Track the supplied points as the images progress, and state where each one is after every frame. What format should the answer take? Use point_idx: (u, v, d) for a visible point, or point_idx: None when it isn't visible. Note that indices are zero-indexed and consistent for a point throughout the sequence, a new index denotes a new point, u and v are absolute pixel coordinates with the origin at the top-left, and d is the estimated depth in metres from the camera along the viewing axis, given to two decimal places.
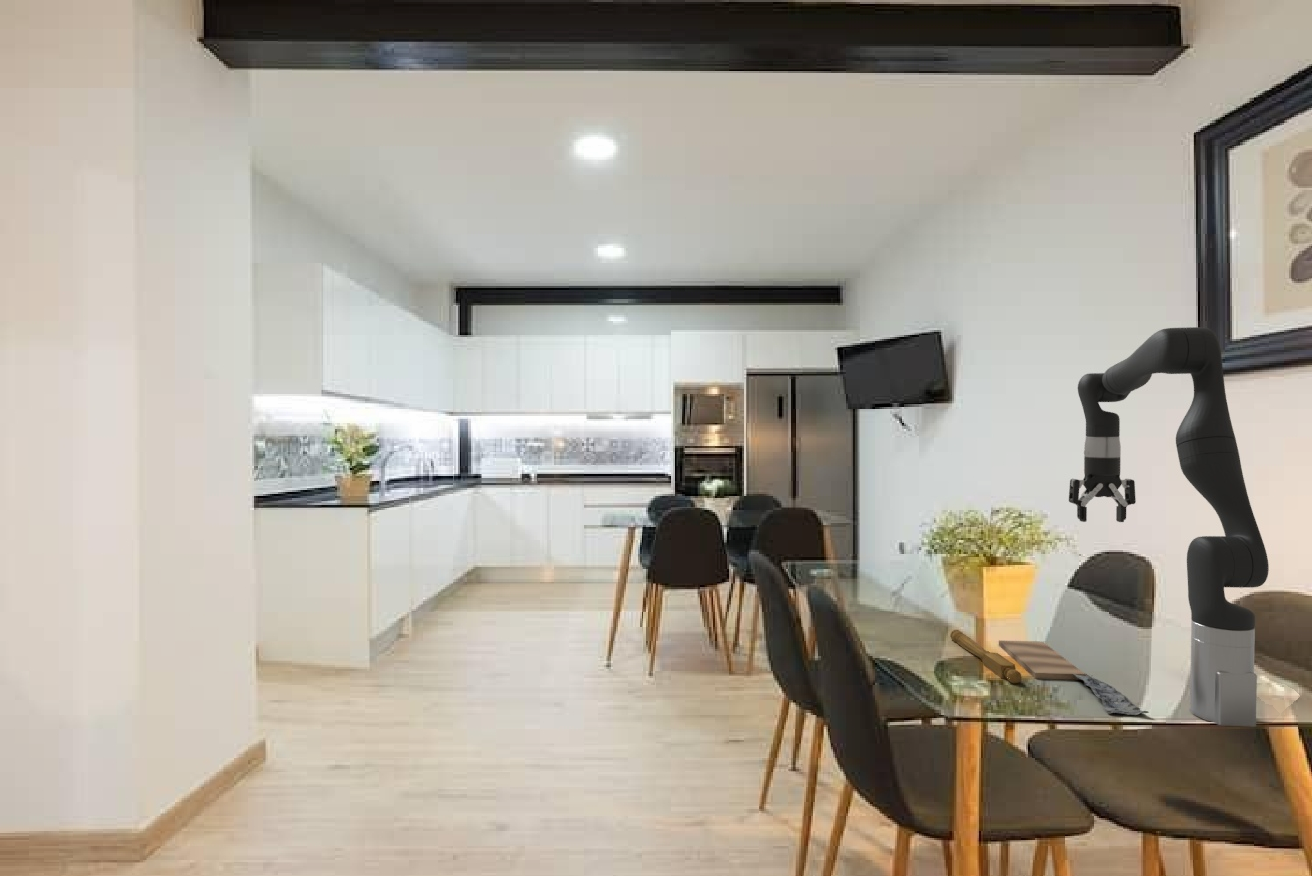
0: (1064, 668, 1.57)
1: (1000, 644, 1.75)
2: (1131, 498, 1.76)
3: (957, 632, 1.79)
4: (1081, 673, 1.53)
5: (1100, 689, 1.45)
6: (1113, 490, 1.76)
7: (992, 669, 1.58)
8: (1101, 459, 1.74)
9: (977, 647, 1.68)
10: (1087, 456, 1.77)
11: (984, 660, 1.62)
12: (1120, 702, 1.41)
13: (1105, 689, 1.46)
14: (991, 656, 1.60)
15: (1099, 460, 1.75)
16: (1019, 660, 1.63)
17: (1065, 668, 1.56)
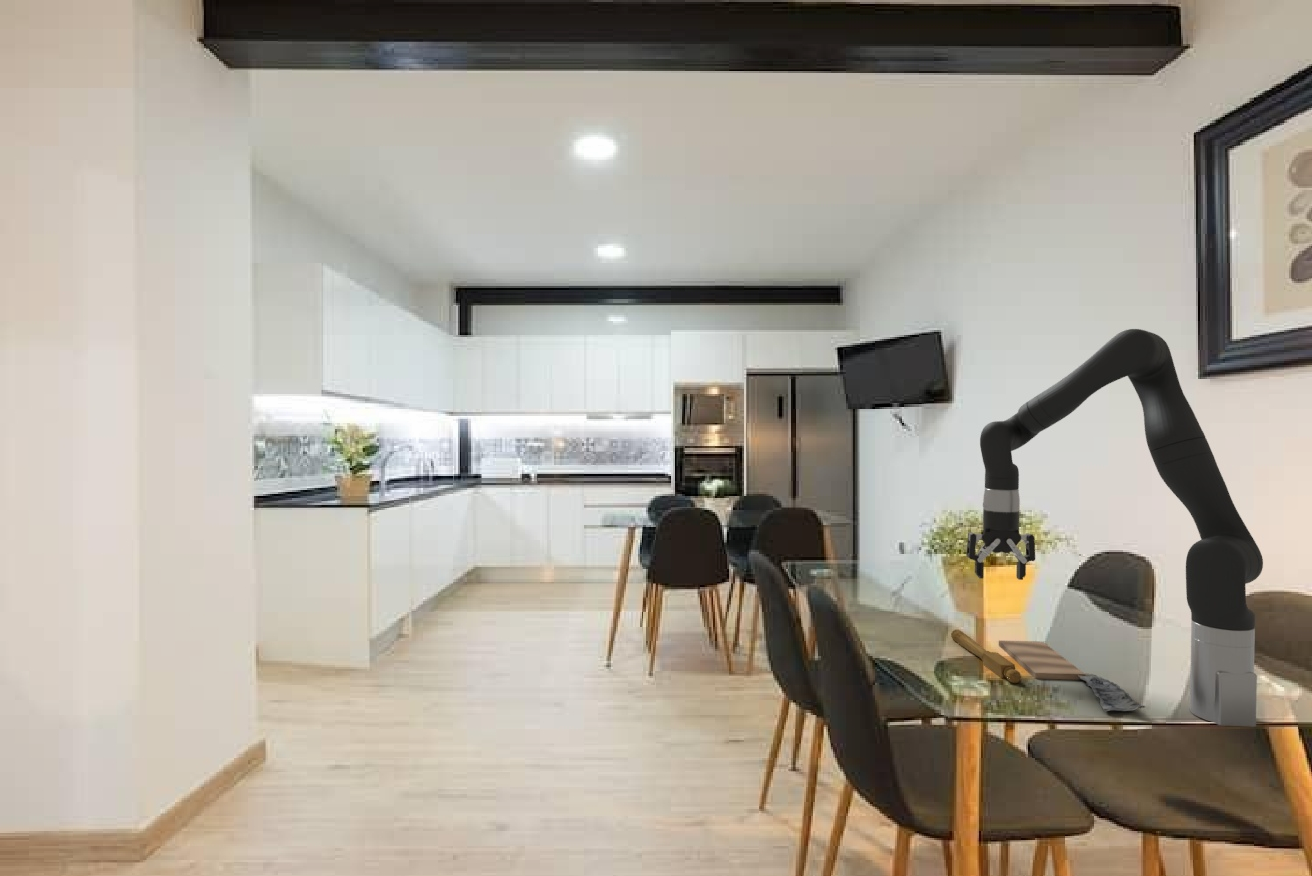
0: (1064, 668, 1.57)
1: (1000, 644, 1.75)
2: (1031, 555, 1.65)
3: (958, 632, 1.79)
4: (1081, 673, 1.53)
5: (1102, 688, 1.45)
6: (1011, 546, 1.65)
7: (992, 669, 1.58)
8: (997, 513, 1.64)
9: (977, 647, 1.68)
10: (985, 509, 1.67)
11: (984, 660, 1.62)
12: (1121, 699, 1.40)
13: (1108, 688, 1.46)
14: (991, 656, 1.60)
15: (995, 514, 1.64)
16: (1019, 660, 1.63)
17: (1065, 668, 1.56)
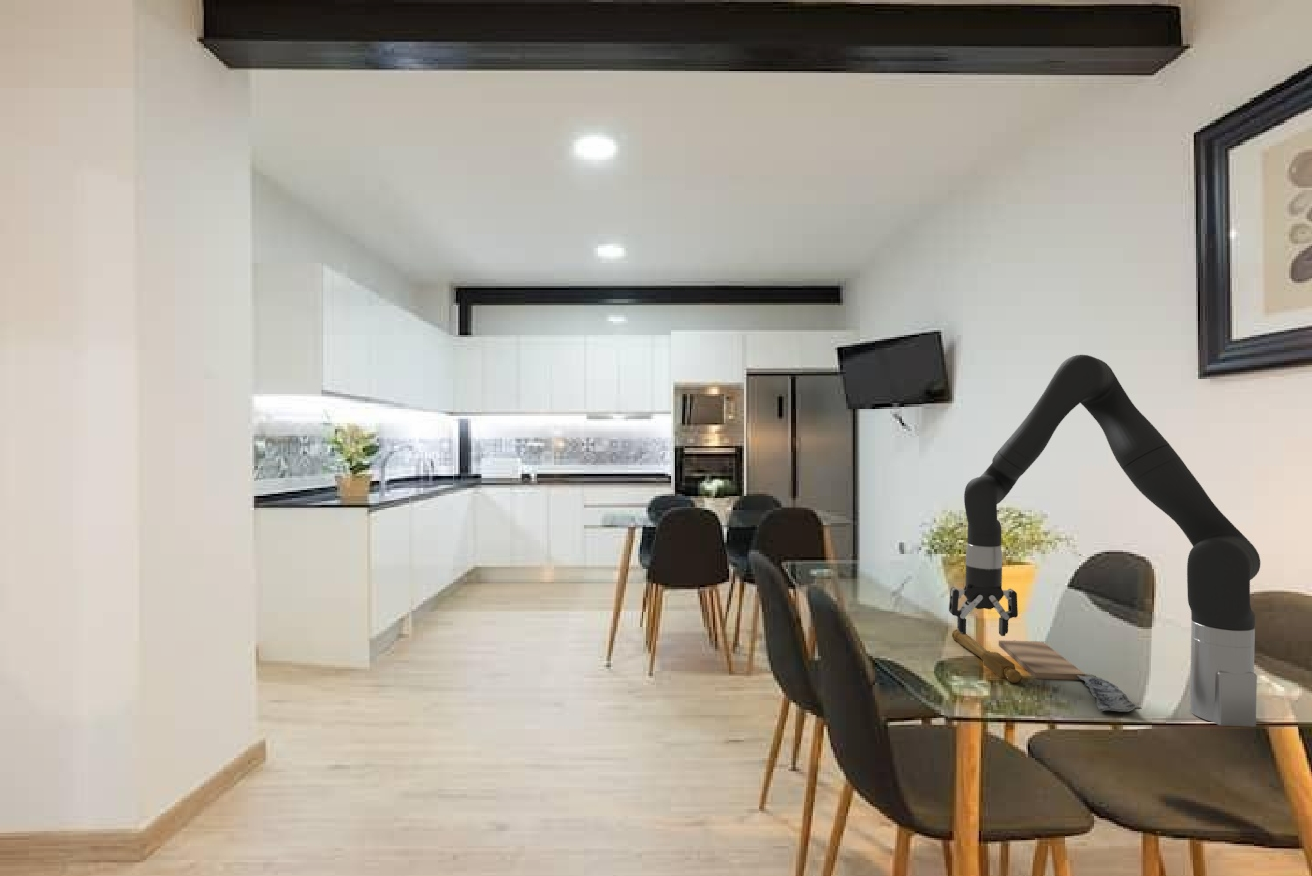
0: (1064, 668, 1.57)
1: (1000, 644, 1.75)
2: (1013, 611, 1.64)
3: (959, 632, 1.79)
4: (1081, 673, 1.53)
5: (1100, 688, 1.45)
6: (994, 602, 1.64)
7: (992, 668, 1.59)
8: (980, 570, 1.62)
9: (978, 647, 1.68)
10: (967, 565, 1.65)
11: (984, 659, 1.62)
12: (1118, 700, 1.40)
13: (1106, 688, 1.45)
14: (991, 656, 1.60)
15: (978, 571, 1.62)
16: (1019, 660, 1.63)
17: (1065, 668, 1.56)
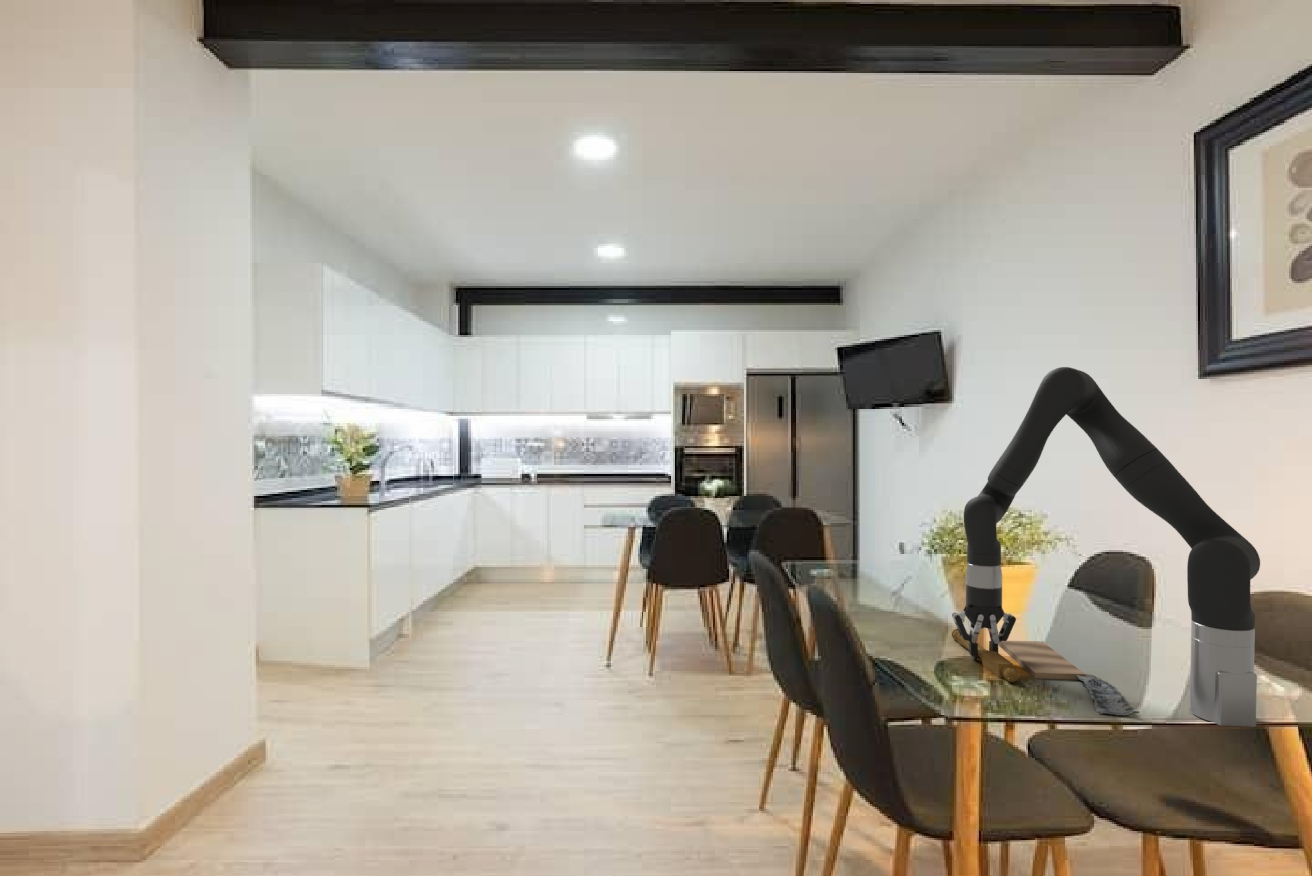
0: (1064, 668, 1.57)
1: (1000, 644, 1.75)
2: (1003, 634, 1.64)
3: (958, 631, 1.79)
4: (1081, 673, 1.53)
5: (1099, 690, 1.45)
6: (994, 622, 1.64)
7: (990, 668, 1.59)
8: (980, 590, 1.62)
9: None
10: (967, 584, 1.65)
11: (983, 659, 1.62)
12: (1116, 703, 1.40)
13: (1105, 690, 1.45)
14: (989, 655, 1.60)
15: (978, 590, 1.62)
16: (1019, 660, 1.63)
17: (1065, 668, 1.56)
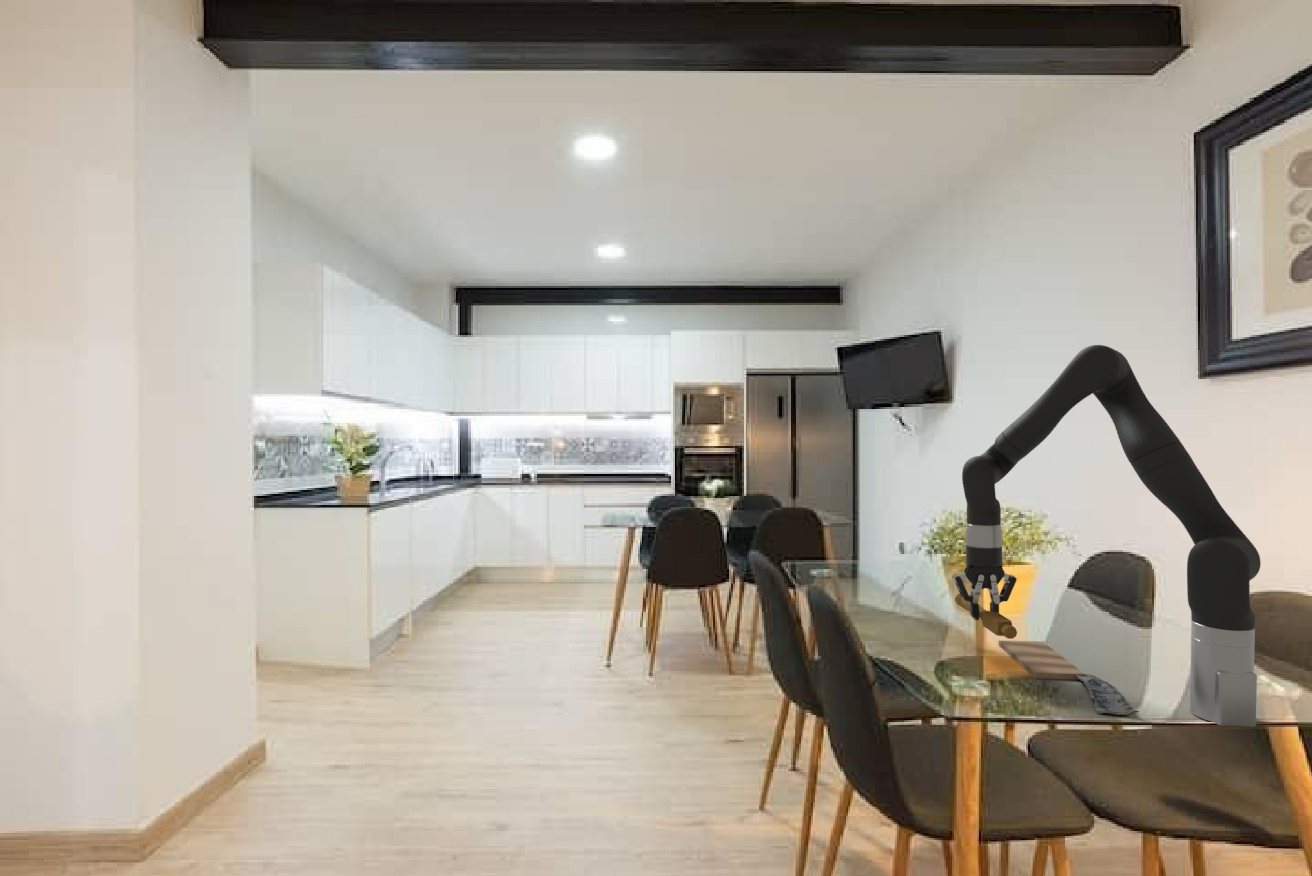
0: (1064, 668, 1.57)
1: (1000, 644, 1.75)
2: (1003, 595, 1.63)
3: None
4: (1081, 673, 1.53)
5: (1098, 690, 1.45)
6: (995, 582, 1.63)
7: (990, 627, 1.58)
8: (980, 549, 1.62)
9: None
10: (967, 545, 1.65)
11: (983, 619, 1.62)
12: (1116, 702, 1.40)
13: (1105, 690, 1.45)
14: (989, 614, 1.60)
15: (978, 550, 1.62)
16: (1019, 660, 1.63)
17: (1065, 668, 1.56)
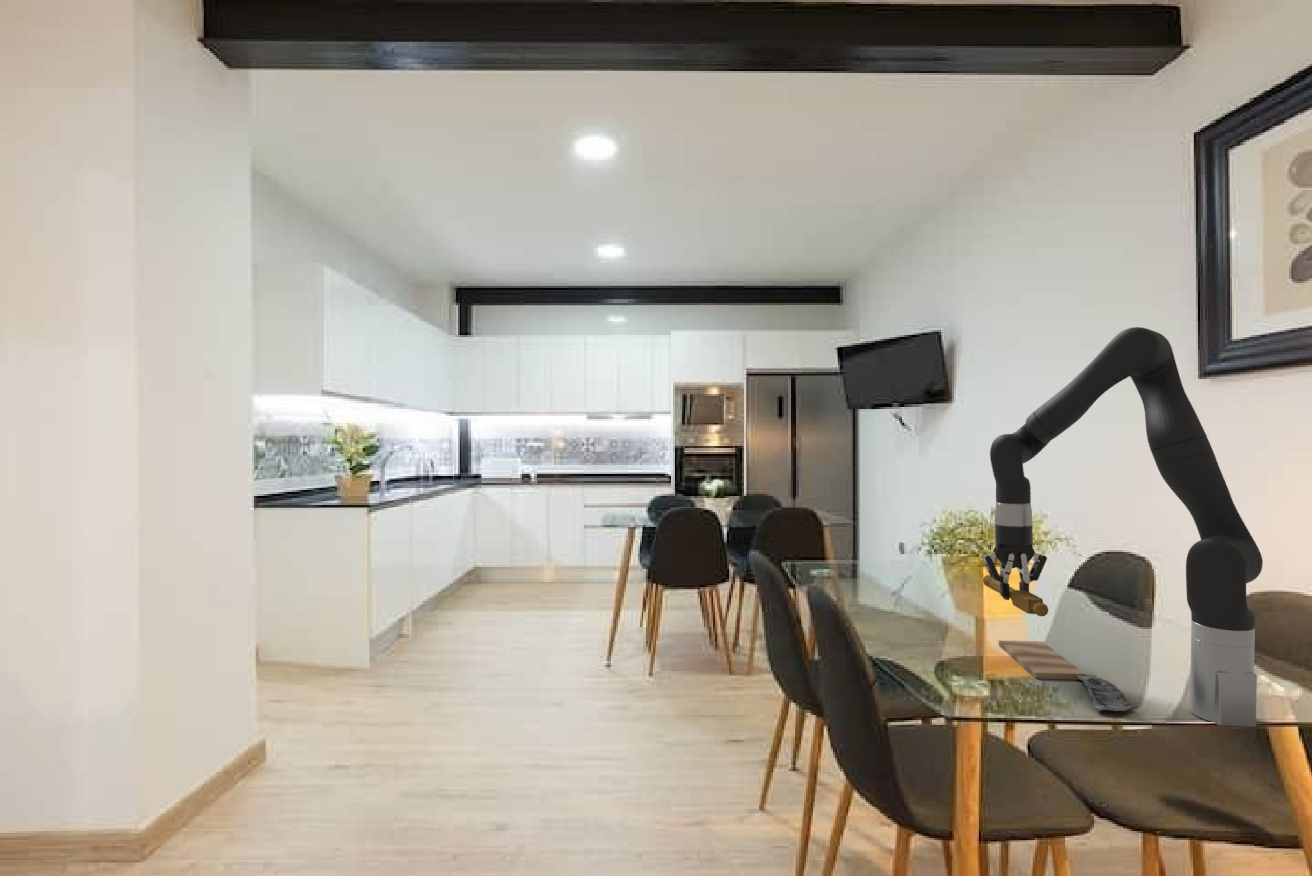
0: (1064, 668, 1.57)
1: (1000, 644, 1.75)
2: (1033, 574, 1.62)
3: (989, 577, 1.77)
4: (1081, 673, 1.53)
5: (1098, 688, 1.45)
6: (1025, 561, 1.62)
7: (1020, 605, 1.57)
8: (1011, 528, 1.60)
9: None
10: (997, 524, 1.63)
11: (1013, 598, 1.61)
12: (1115, 699, 1.40)
13: (1104, 688, 1.45)
14: (1019, 593, 1.59)
15: (1009, 529, 1.61)
16: (1019, 660, 1.63)
17: (1065, 668, 1.56)
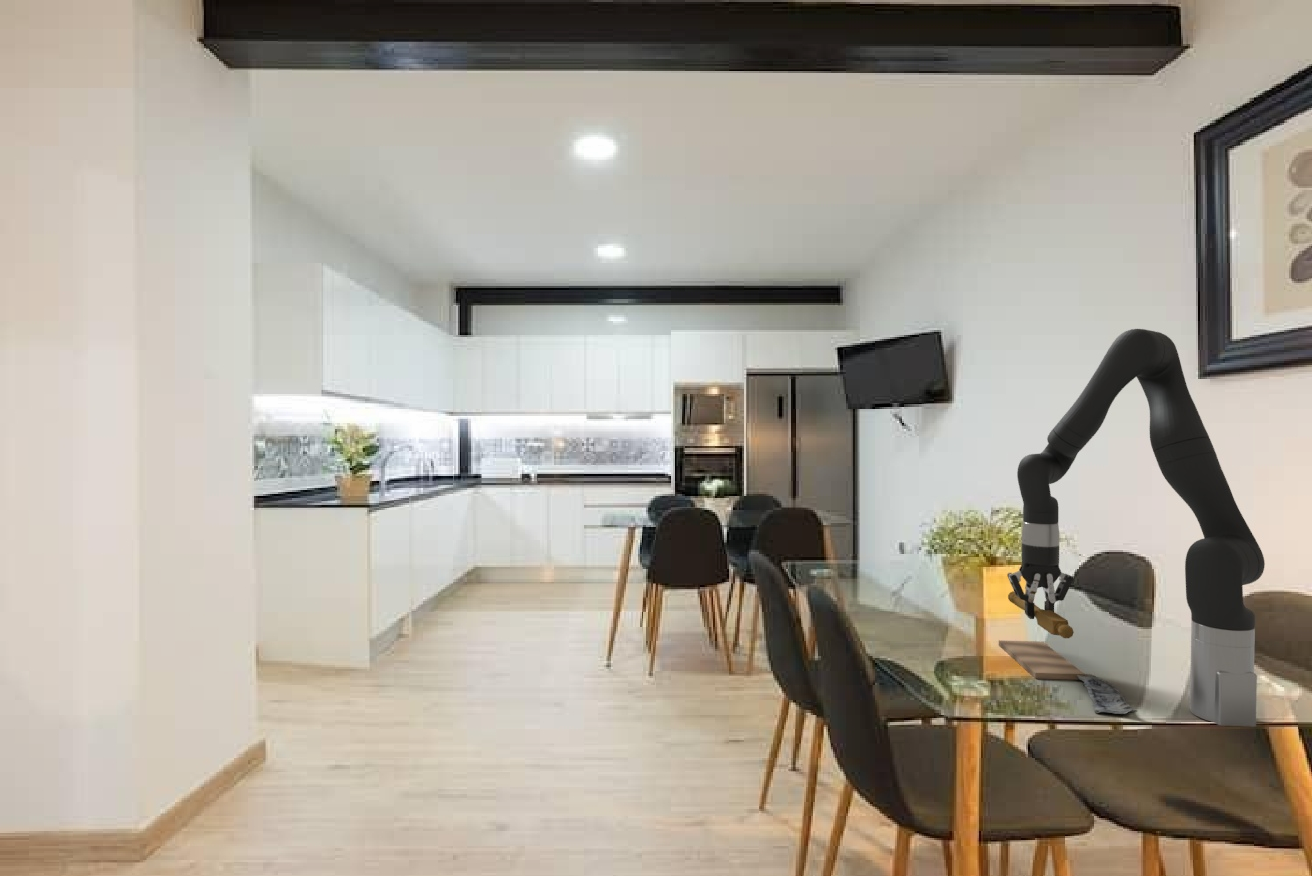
0: (1064, 668, 1.57)
1: (1000, 644, 1.75)
2: (1059, 594, 1.62)
3: None
4: (1081, 673, 1.53)
5: (1098, 689, 1.45)
6: (1051, 581, 1.62)
7: (1045, 625, 1.57)
8: (1038, 548, 1.60)
9: None
10: (1024, 543, 1.63)
11: (1038, 617, 1.61)
12: (1115, 702, 1.40)
13: (1104, 689, 1.45)
14: (1045, 613, 1.59)
15: (1036, 549, 1.61)
16: (1019, 660, 1.63)
17: (1065, 668, 1.56)
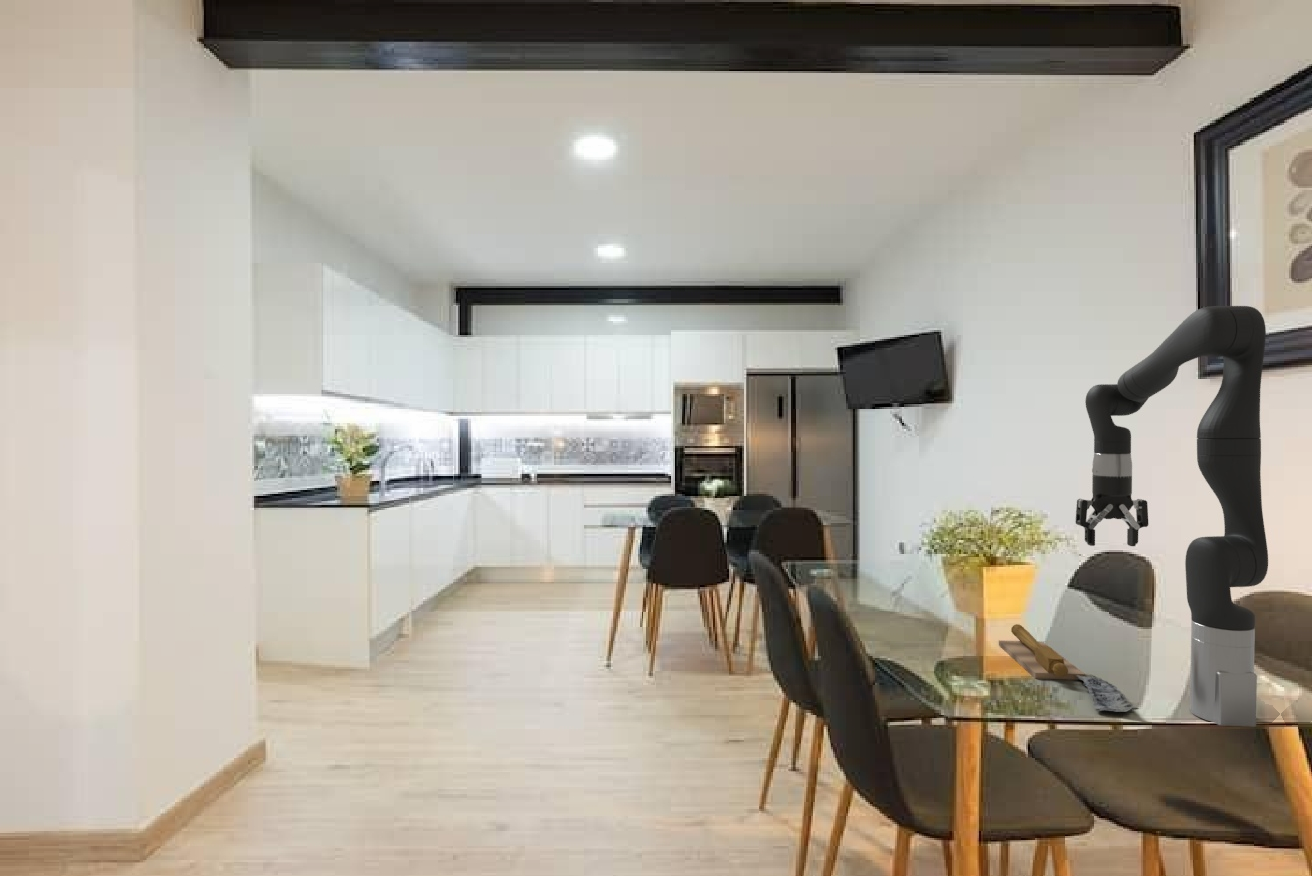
0: None
1: (1000, 644, 1.75)
2: (1143, 520, 1.62)
3: (1018, 626, 1.78)
4: (1081, 673, 1.53)
5: (1098, 689, 1.45)
6: (1124, 512, 1.61)
7: (1041, 662, 1.58)
8: (1111, 478, 1.60)
9: (1032, 641, 1.67)
10: (1096, 474, 1.63)
11: (1036, 654, 1.61)
12: (1116, 700, 1.40)
13: (1104, 688, 1.45)
14: (1042, 650, 1.59)
15: (1109, 479, 1.60)
16: (1019, 660, 1.63)
17: None
